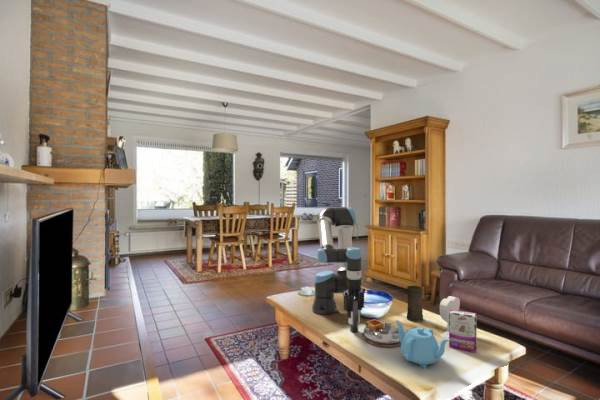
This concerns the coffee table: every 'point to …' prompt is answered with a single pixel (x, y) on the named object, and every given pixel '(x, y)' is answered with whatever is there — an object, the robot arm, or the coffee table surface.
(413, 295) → the container
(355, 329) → the steel pin
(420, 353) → the teapot
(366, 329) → the lugged metal disc
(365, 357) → the coffee table surface
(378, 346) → the nut base
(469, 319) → the candy bar box
